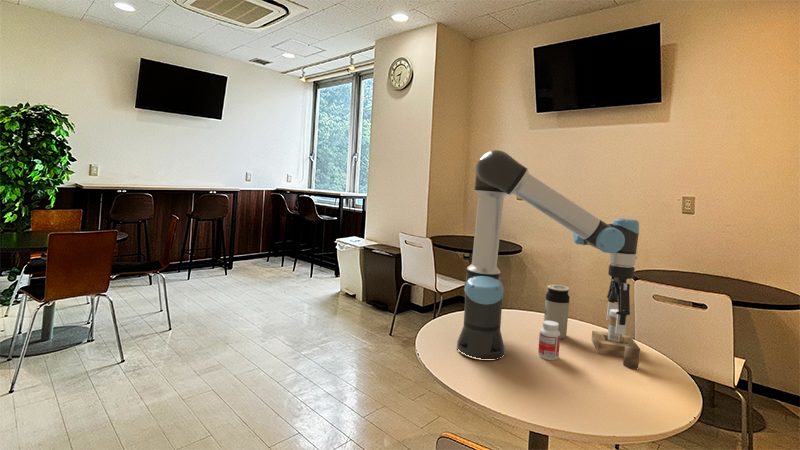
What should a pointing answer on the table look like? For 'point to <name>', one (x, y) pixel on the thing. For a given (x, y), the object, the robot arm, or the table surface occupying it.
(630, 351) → the walnut stub
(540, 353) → the pill bottle
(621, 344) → the oak collar
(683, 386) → the table surface
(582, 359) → the table surface
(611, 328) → the sprinkles bottle
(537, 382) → the table surface
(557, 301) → the travel mug
